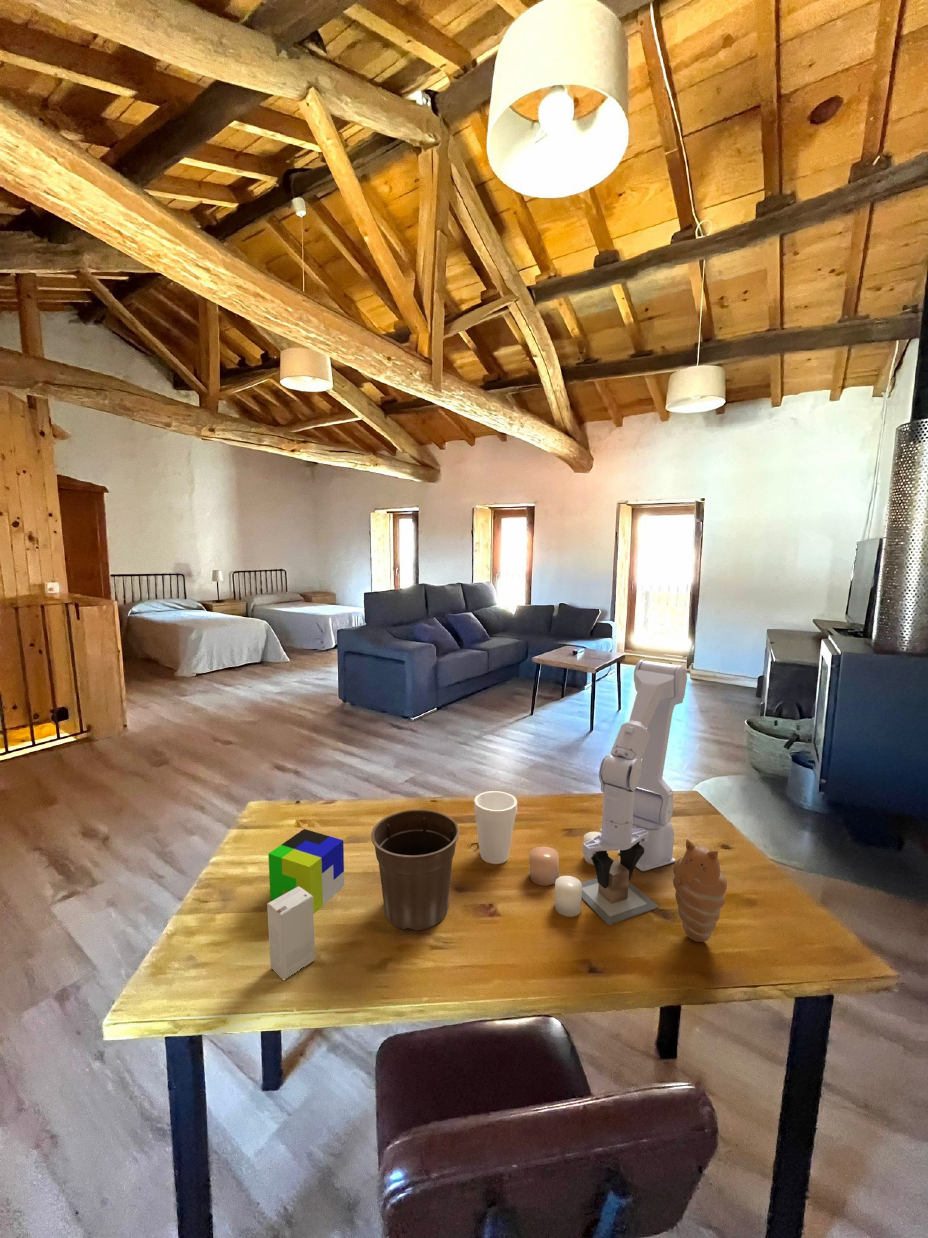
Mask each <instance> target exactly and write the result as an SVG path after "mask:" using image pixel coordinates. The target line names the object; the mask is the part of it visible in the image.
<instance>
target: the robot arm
mask: <svg viewBox="0 0 928 1238" xmlns="http://www.w3.org/2000/svg"><path fill="white" fill-rule="evenodd" d="M633 670H634V671H633V682H634V689H635V691H636V696H635V699H634V702H633V707H632V710H631V713H630V716H629V720H628V721H626V722H625V723H622V724H621V725H620V728H619V730H618V733H617V735H616V738H615V741H614V743H613V746H612V748H611V751H610V754H609V755H605V756H604V757H603V758H602V760H601V763H600V766H599V772H598V779H599V782H600V792H602V794H603V795H602V796H603V797H602V810H601V811H602V815H601V816H602V817H601V828H600V829H599V832H600V834H599V835H597V836H596V837H594V838H593V839H592V840H590V841H588V842H586V843H584V842H583V843H582V850H581V851H582V854H583V856H584V855H586V856H587V857H588V858H590V857H591V859H592V861H593V864H594V865H593V866H594V867H593V868H594V870H595V875H596V878H597V880H598V883H599V884H600V885H601V886H602V887H603V888H607V887H608V882H609V873H610V869H611V866H612V864H613V862H614V861H613V860H614V859H612V858H611V857H610V856H609V853H608V852H609V851H618V854H619V856H620V857H619V858H620V859H619V861H620V862H619V863H621V864H622V865H623V866H624V867H626V868H627V869H628V870H629V882H630V881H631V878H632V875H633V873H634V870H635V869H636V868H637V869H638V870H640V871H641V872H646V871H649V870H652V869H656V868H659V867H662V866H666V865H669V864H674V863H675V862H676V859H675V858H674V857H673V856H674V855H673V853H674V843H675V842H674V841H675V840H674V839H675V830H674V828H673V827H674V826H673V823H671V820H672V818H673V817H672V816H673V814H674V813H673V812H674V791H673V790H672V788H671V787H670V785H668V783H667V782H666V781H665V780H664V779H663V774H664V769H665V763H666V757H667V750H668V743H669V736H670V732H671V725H672V724H671V723H672V717H673V712H674V710H675V706H676V705H680V704H683V702H684V699H685V695H686V690H687V689H686V688H687V682H688V672H687V669H686V667H685V666H684V665H682V664H672V663H665V662H664V663H663V662H658V661H651V660H645V659H639V661H638V662H637V663H636V664H635V666H634V669H633ZM635 867H636V868H635Z"/></svg>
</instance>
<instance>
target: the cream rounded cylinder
mask: <svg viewBox="0 0 928 1238" xmlns="http://www.w3.org/2000/svg"><path fill="white" fill-rule="evenodd" d="M599 834H600V831H589V832H587V833H585V834H584V835H583V843H586V842H588V841H590V840H592V839H593V838H594V837H596V836H597V835H599ZM583 858H584V861H585V863H587V864H589V865H591V866H594V864H593V861H592V859H591V857H590V858H588V857H587V856H586V855H584V854H583Z"/></svg>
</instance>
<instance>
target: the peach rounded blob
mask: <svg viewBox="0 0 928 1238" xmlns="http://www.w3.org/2000/svg"><path fill="white" fill-rule="evenodd" d="M528 854H529V855H528V857H529V878H530V880H531V881H532V883H534V884H536V885H538V886H545V887H546V886H552V885H555V881H556V879H557V878H559V877H560V873H559V872H560V870H559V866H560V865H559V864H560V863H559V852H558V851H557V850H556V849H555V848H552V847H549V846H542V845H541V846H536V847H534V848H532V849H531V850H530V851H529V853H528Z"/></svg>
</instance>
